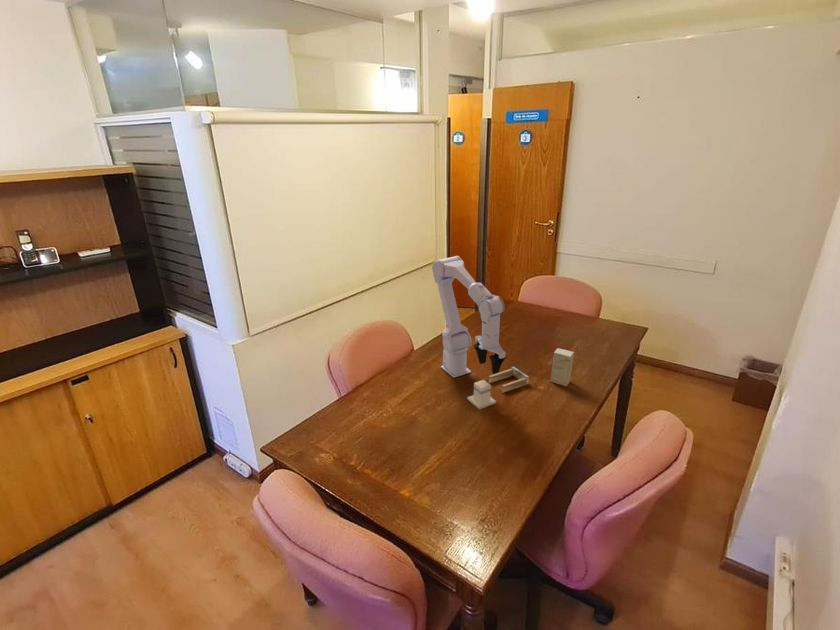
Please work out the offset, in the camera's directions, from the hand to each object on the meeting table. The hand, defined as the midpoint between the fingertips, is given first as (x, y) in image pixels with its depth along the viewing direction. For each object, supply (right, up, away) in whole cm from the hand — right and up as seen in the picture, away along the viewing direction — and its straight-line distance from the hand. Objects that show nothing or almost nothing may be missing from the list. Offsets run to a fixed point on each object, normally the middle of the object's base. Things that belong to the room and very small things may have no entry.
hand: (488, 367), depth 152 cm
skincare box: (+28, -6, +9) cm, 30 cm away
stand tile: (-3, -11, -1) cm, 12 cm away
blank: (-3, -10, -1) cm, 11 cm away
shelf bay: (+9, -7, +9) cm, 14 cm away
